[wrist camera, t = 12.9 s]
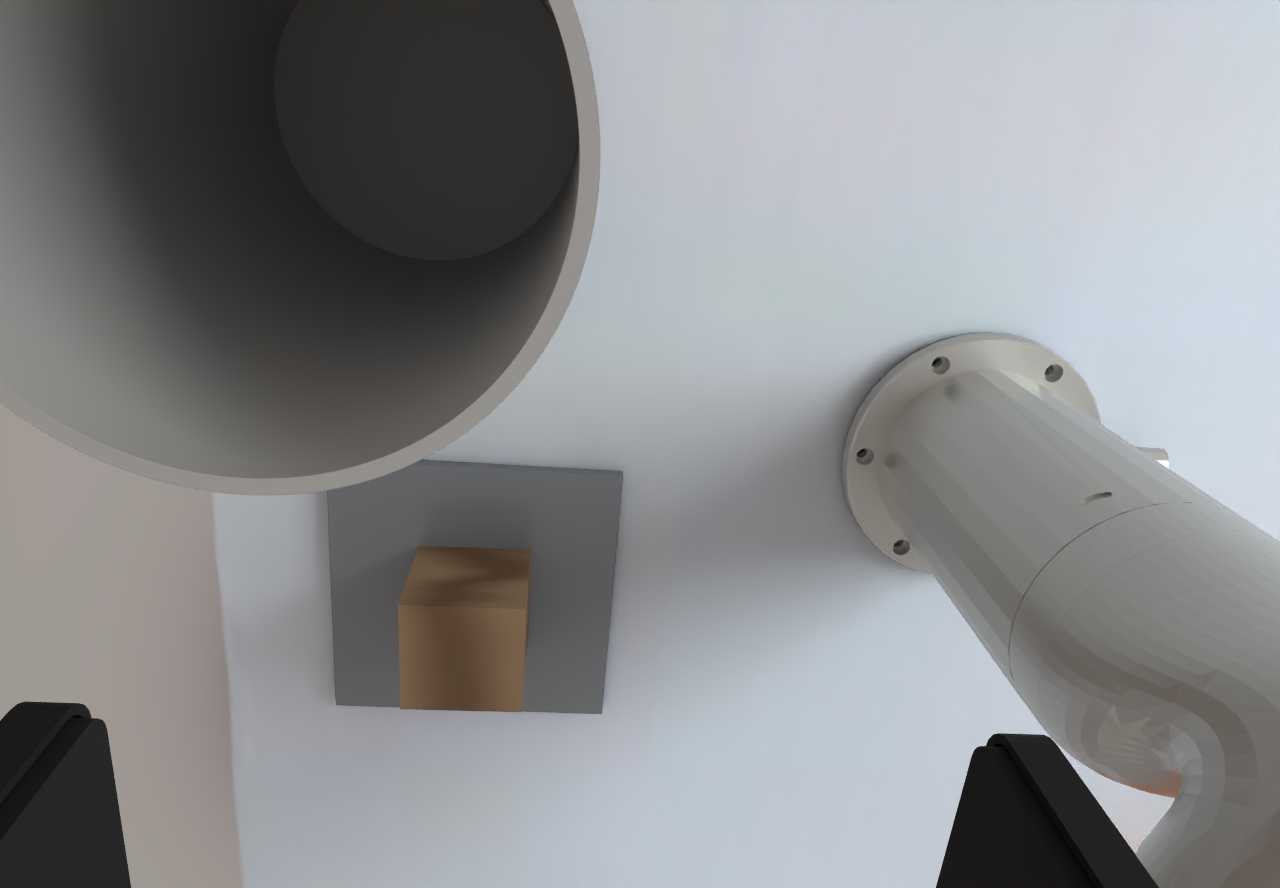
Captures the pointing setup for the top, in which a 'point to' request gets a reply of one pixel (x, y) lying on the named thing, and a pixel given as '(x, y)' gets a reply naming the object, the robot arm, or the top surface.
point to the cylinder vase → (285, 226)
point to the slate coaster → (478, 518)
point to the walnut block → (464, 629)
